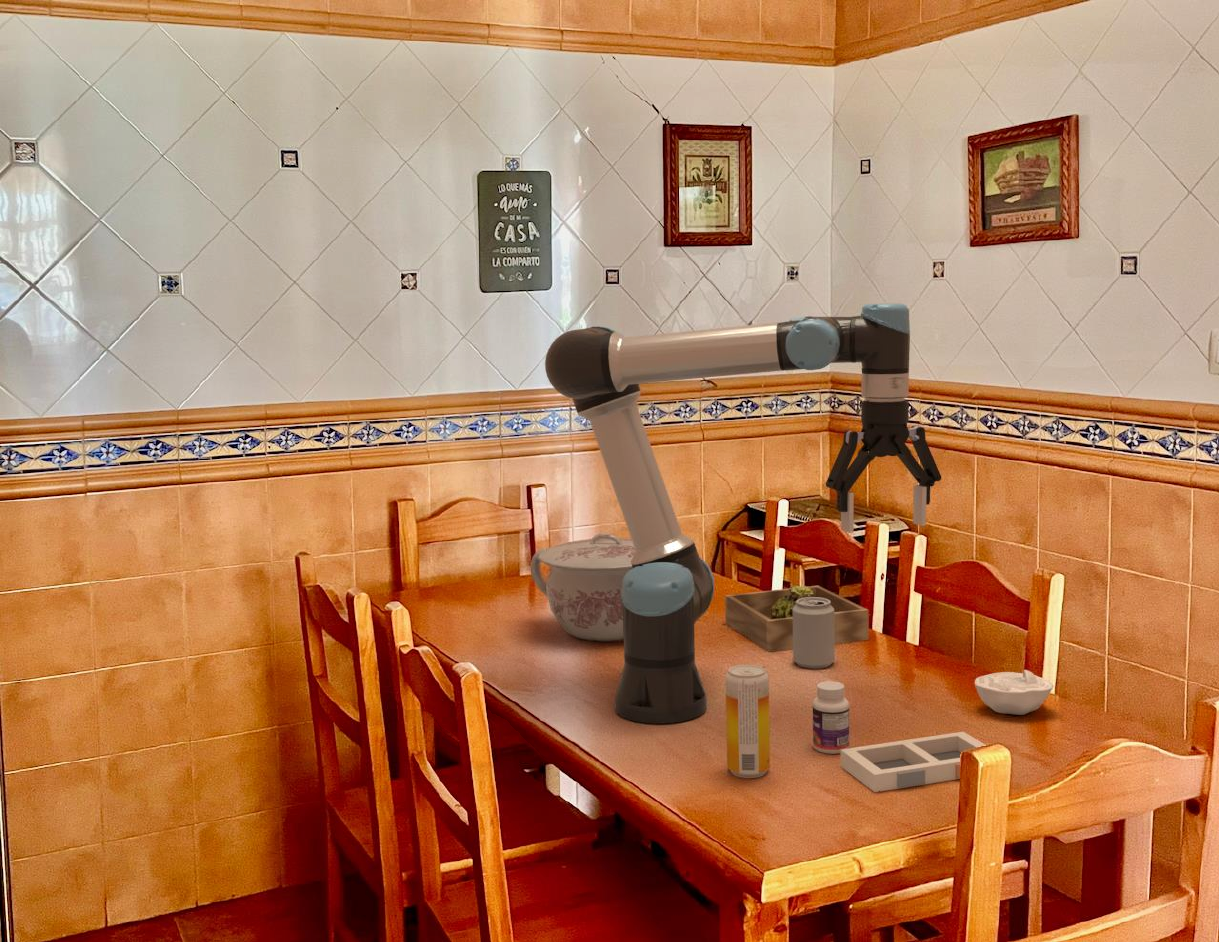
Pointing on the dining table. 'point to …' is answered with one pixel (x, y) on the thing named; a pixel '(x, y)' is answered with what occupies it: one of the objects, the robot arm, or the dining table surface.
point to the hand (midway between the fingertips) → (883, 528)
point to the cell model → (1013, 691)
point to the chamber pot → (586, 585)
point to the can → (813, 633)
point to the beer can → (747, 721)
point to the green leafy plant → (789, 602)
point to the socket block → (908, 761)
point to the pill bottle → (830, 718)
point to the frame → (790, 618)
